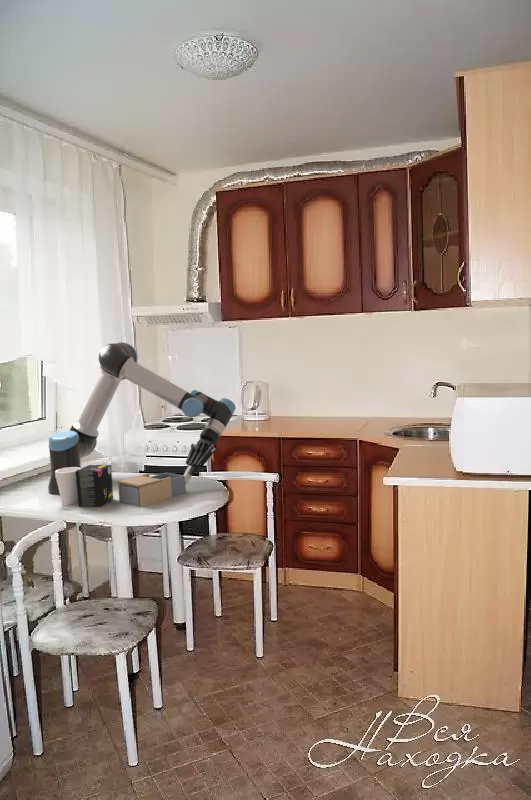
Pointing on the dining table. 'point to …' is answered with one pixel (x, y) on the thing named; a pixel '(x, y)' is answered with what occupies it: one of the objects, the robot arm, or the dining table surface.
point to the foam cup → (67, 485)
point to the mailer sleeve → (149, 488)
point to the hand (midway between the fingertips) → (184, 481)
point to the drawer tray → (177, 481)
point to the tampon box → (94, 485)
